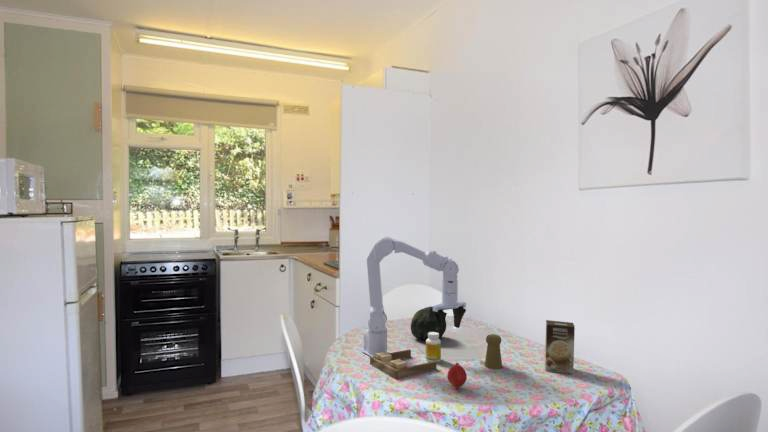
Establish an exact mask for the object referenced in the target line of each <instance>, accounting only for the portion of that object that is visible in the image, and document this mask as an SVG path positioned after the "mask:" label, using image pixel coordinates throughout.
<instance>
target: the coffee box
mask: <svg viewBox="0 0 768 432" xmlns="http://www.w3.org/2000/svg"><path fill="white" fill-rule="evenodd" d="M575 331H576V328H575V324H574V323H573V322H569V321H561V320H560V321H559V320H549V319H546V320H545V345H544V370H545V372H546V371H547V372H552V373H553V372H556V373H562V374H568V373H570V375H574V364H575V362H574V361H575Z"/></svg>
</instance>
